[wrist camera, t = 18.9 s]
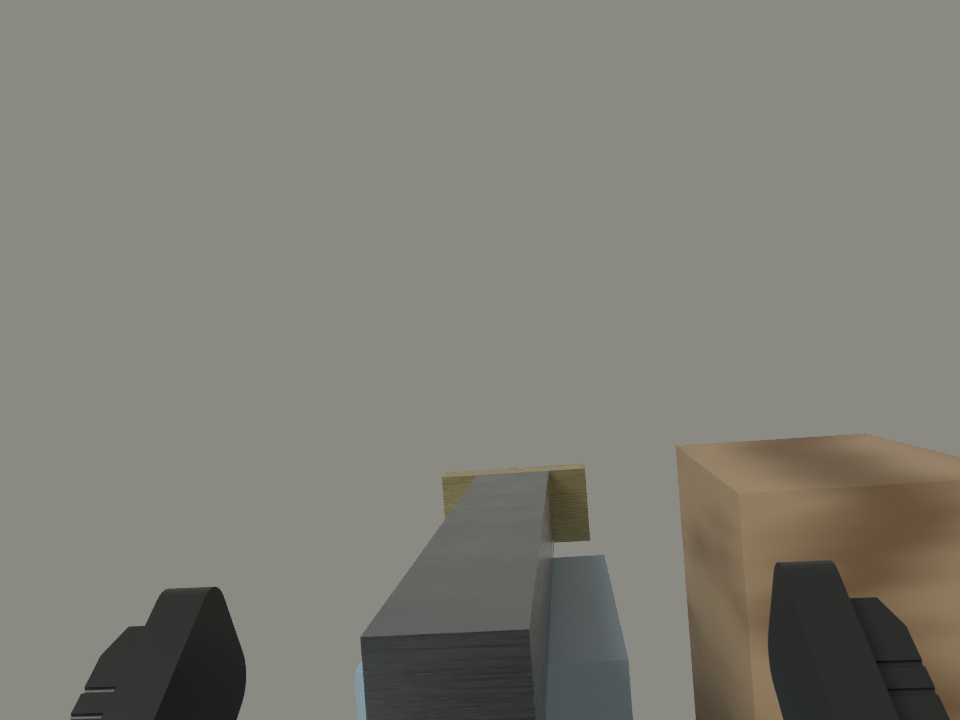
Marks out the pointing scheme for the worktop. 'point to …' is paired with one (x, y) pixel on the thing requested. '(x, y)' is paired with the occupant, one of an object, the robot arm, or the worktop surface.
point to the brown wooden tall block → (815, 552)
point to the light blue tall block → (577, 647)
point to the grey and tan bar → (477, 601)
